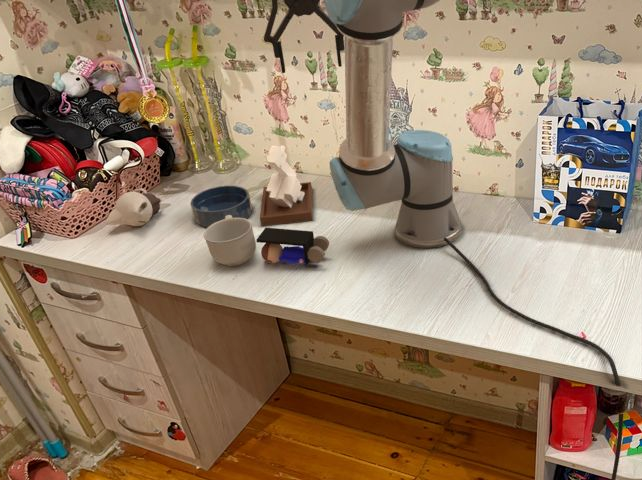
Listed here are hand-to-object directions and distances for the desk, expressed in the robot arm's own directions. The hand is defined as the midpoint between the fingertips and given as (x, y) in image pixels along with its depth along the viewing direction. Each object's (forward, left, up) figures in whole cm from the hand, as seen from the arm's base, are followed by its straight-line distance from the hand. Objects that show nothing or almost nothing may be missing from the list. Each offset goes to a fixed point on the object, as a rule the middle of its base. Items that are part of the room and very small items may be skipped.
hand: (311, 68), depth 168 cm
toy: (-9, +49, -31) cm, 59 cm away
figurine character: (-38, +8, -31) cm, 50 cm away
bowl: (-10, +27, -31) cm, 42 cm away
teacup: (-32, +22, -31) cm, 50 cm away
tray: (-10, +11, -31) cm, 34 cm away
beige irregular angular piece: (-10, +11, -30) cm, 33 cm away
